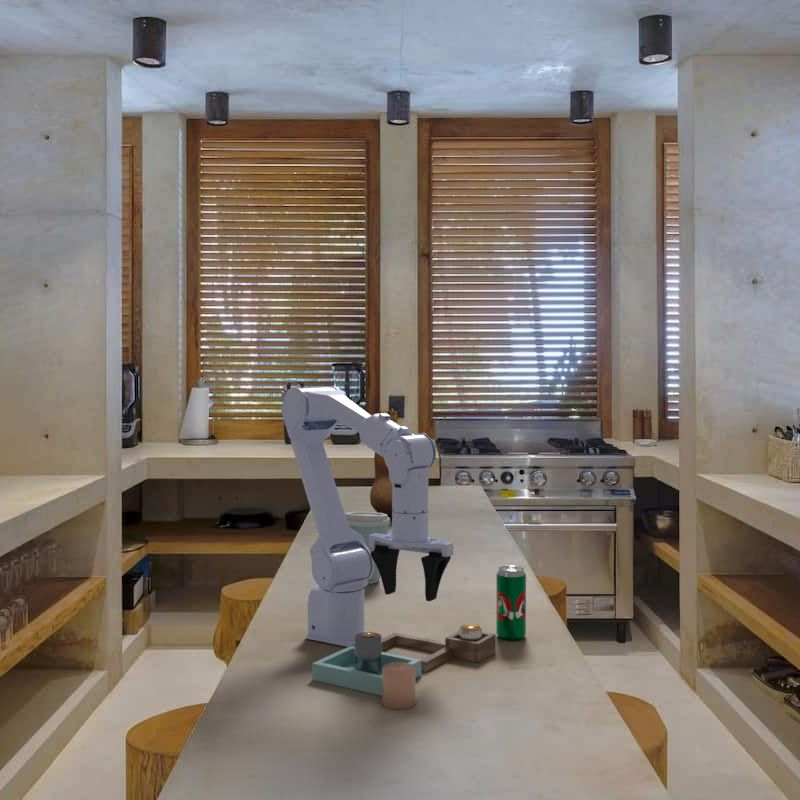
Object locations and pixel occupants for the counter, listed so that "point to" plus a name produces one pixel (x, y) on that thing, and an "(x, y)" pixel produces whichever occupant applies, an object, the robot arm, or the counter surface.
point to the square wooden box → (471, 647)
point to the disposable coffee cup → (369, 530)
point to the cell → (368, 652)
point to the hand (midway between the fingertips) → (410, 596)
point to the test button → (470, 632)
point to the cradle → (420, 643)
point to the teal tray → (343, 671)
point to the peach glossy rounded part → (398, 685)
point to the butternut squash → (381, 487)
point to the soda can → (511, 603)
